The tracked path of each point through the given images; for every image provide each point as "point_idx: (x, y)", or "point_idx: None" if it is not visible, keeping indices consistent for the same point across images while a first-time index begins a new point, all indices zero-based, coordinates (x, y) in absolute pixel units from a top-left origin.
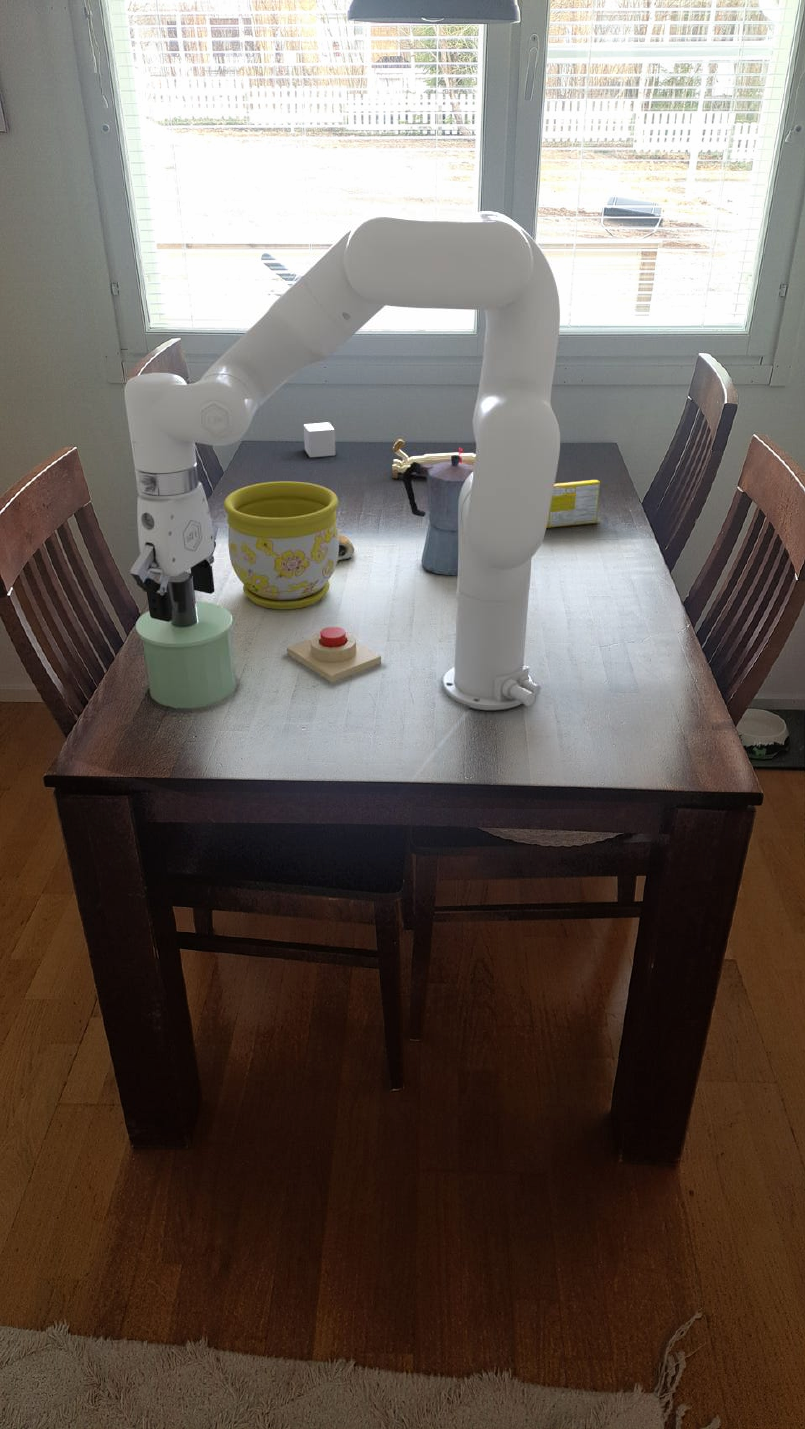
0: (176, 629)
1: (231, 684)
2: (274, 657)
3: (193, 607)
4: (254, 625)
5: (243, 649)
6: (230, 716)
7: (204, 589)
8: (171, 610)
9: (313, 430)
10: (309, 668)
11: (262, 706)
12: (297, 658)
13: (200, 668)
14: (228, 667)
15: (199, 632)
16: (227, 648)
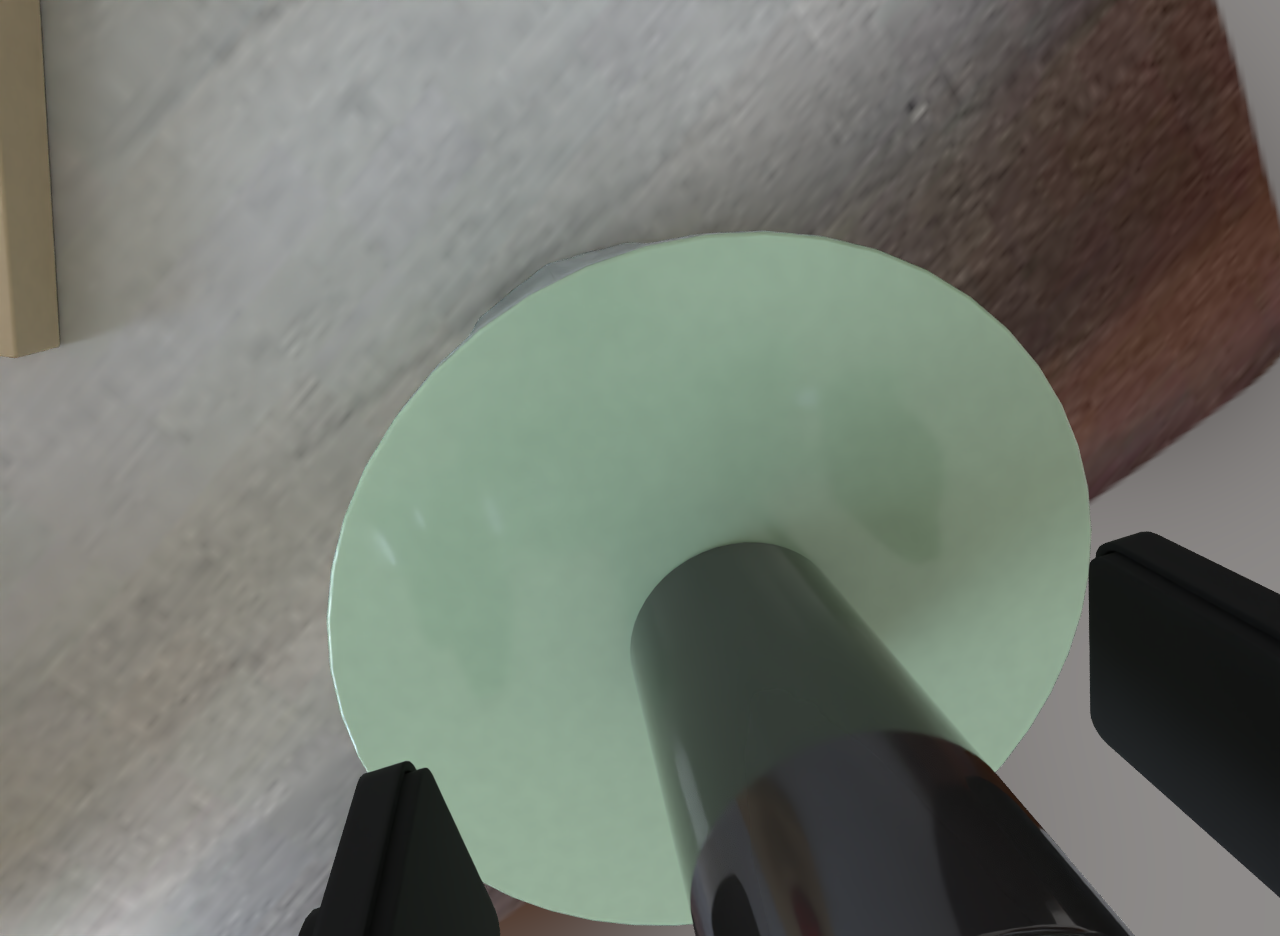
0: (872, 572)
1: (555, 264)
2: (125, 402)
3: (767, 629)
4: (9, 728)
5: (213, 578)
6: (693, 111)
7: (450, 847)
8: (1178, 600)
9: None
10: (31, 103)
11: (517, 44)
12: (29, 240)
13: None
14: (573, 268)
15: (806, 397)
16: None
